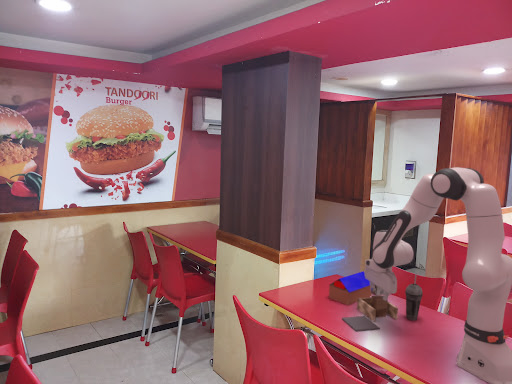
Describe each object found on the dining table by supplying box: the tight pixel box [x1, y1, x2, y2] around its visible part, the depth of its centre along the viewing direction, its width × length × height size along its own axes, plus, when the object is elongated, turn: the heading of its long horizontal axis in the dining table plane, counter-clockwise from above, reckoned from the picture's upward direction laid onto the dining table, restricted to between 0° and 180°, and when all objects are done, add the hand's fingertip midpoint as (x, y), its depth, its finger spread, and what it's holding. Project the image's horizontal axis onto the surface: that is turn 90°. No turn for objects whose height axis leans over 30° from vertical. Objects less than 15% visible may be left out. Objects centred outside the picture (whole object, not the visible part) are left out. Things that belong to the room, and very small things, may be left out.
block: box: [371, 295, 389, 319], centre depth 185 cm, size 5×5×8 cm
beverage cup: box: [404, 273, 423, 321], centre depth 183 cm, size 7×7×20 cm
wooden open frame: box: [356, 296, 399, 322], centre depth 187 cm, size 14×12×5 cm
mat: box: [341, 315, 381, 332], centre depth 176 cm, size 12×11×1 cm
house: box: [328, 270, 372, 306], centre depth 205 cm, size 12×20×12 cm, turn 132°
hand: (378, 295), depth 185 cm, fingers open, 8 cm apart
